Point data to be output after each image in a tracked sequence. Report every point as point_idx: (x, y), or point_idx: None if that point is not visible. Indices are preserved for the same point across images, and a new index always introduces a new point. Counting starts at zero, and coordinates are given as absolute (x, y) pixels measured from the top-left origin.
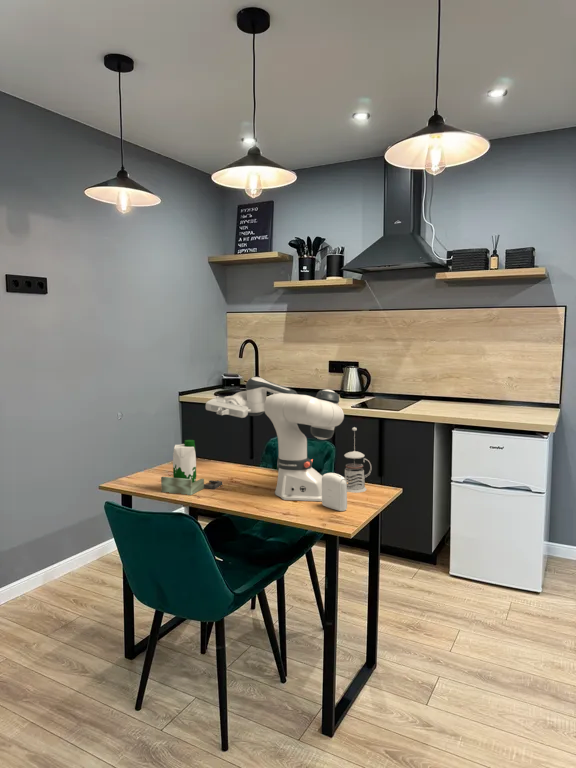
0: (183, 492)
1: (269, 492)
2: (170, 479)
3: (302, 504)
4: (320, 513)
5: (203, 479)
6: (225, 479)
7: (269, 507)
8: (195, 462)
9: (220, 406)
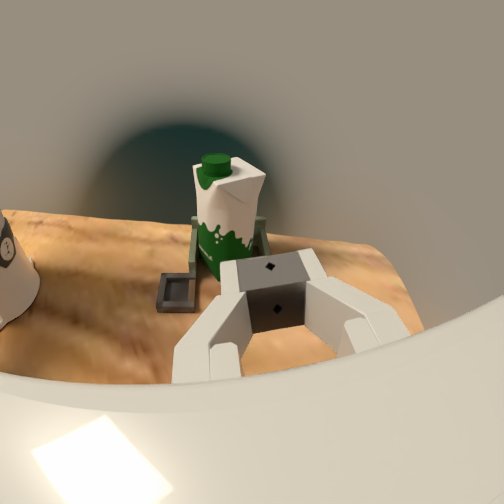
0: None
1: (48, 290)
2: None
3: None
4: None
5: (188, 261)
6: None
7: (54, 233)
8: (197, 210)
9: (404, 337)
